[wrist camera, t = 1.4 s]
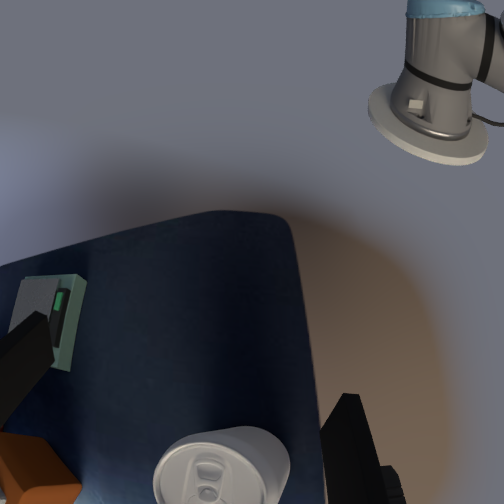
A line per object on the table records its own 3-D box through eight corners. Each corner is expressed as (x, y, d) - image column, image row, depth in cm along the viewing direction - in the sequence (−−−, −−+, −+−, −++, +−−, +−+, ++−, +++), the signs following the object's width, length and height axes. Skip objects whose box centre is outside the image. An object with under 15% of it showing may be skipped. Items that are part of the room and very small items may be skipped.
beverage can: (205, 493, 22) (145, 527, 12) (209, 422, 26) (149, 423, 16) (287, 502, 20) (270, 553, 10) (292, 427, 24) (280, 439, 14)
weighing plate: (61, 279, 35) (59, 277, 34) (45, 356, 29) (41, 355, 29) (24, 281, 37) (21, 279, 36) (8, 347, 31) (5, 345, 31)
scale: (87, 281, 37) (71, 269, 34) (70, 371, 31) (50, 365, 28) (35, 283, 40) (20, 273, 36) (18, 358, 33) (1, 351, 30)
